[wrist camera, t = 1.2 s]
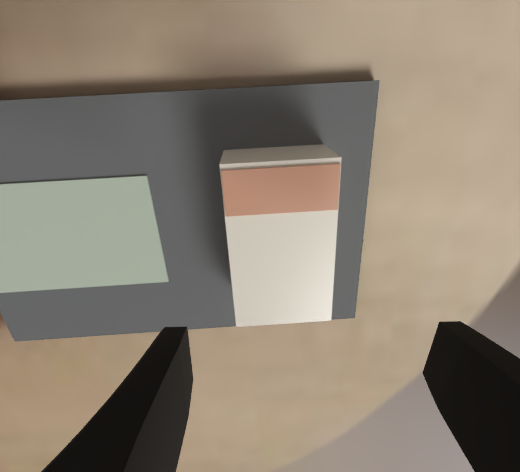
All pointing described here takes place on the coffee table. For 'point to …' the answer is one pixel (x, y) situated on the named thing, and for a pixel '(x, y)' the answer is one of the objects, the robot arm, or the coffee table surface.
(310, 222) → the card box
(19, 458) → the coffee table surface
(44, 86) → the coffee table surface
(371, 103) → the mat
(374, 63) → the coffee table surface
